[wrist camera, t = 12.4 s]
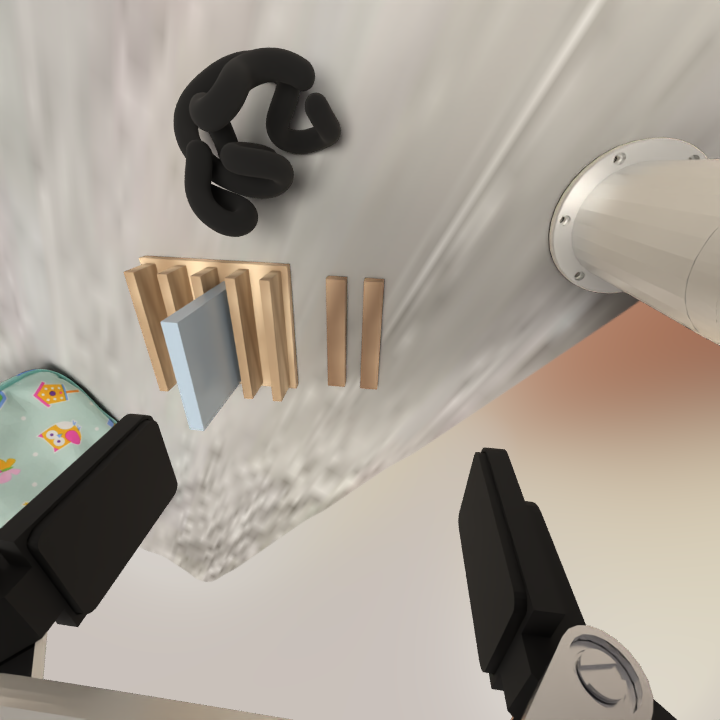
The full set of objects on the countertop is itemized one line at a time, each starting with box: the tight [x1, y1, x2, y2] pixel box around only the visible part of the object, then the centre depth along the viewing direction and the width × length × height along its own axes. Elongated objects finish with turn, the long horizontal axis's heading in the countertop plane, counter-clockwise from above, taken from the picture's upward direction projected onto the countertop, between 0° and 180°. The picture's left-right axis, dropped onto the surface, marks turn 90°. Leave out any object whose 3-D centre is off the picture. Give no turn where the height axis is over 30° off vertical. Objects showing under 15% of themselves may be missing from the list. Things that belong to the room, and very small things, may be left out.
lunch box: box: [0, 369, 118, 528], centre depth 43 cm, size 27×10×21 cm, turn 26°
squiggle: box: [174, 48, 341, 237], centre depth 27 cm, size 11×10×15 cm
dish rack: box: [124, 256, 298, 401], centre depth 39 cm, size 16×15×4 cm
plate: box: [160, 281, 241, 431], centre depth 35 cm, size 1×11×11 cm, turn 178°
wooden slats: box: [326, 276, 384, 389], centre depth 39 cm, size 6×13×1 cm, turn 178°
